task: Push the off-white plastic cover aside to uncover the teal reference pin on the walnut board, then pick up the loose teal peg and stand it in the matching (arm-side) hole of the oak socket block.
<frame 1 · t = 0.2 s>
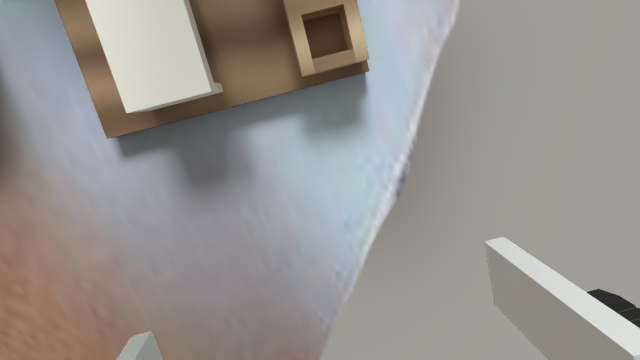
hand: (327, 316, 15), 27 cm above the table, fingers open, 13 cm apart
cover: (159, 43, 33), point 5 cm above the table, slide at 0.0 cm
board: (222, 38, 38), on the table
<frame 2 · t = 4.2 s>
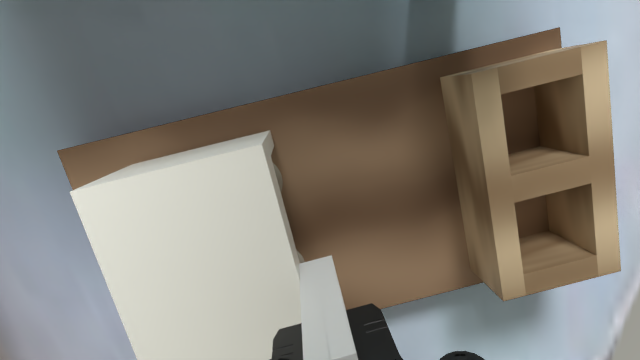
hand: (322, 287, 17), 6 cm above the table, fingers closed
cover: (220, 261, 18), point 5 cm above the table, slide at 1.6 cm, touching gripper
board: (336, 198, 23), on the table
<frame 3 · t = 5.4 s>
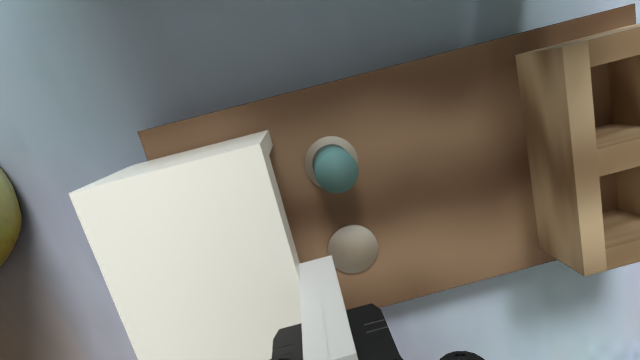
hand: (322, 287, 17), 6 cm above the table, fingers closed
cover: (220, 261, 18), point 5 cm above the table, slide at 5.7 cm, touching gripper
board: (402, 179, 23), on the table
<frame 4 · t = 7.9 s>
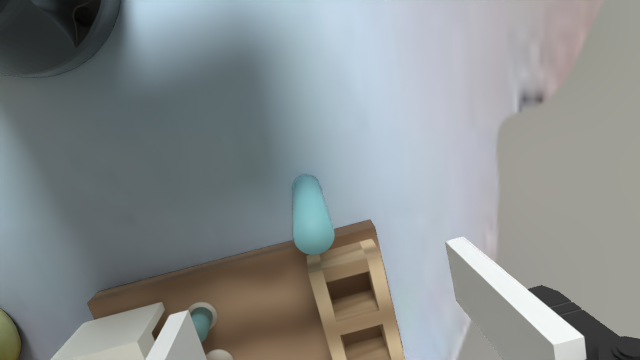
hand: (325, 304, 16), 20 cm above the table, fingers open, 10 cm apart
peg: (306, 187, 35), on the table
board: (254, 315, 37), on the table
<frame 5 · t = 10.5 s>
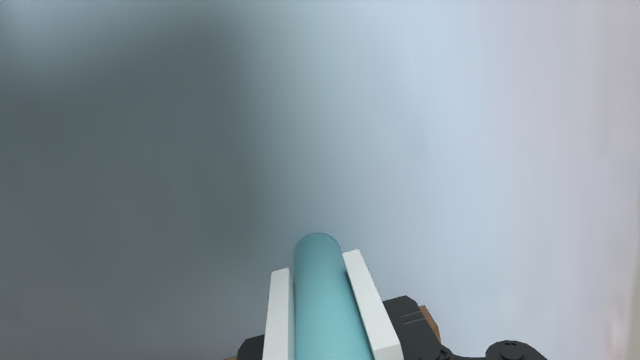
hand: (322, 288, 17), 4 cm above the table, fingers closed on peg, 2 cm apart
peg: (317, 255, 20), on the table, touching gripper
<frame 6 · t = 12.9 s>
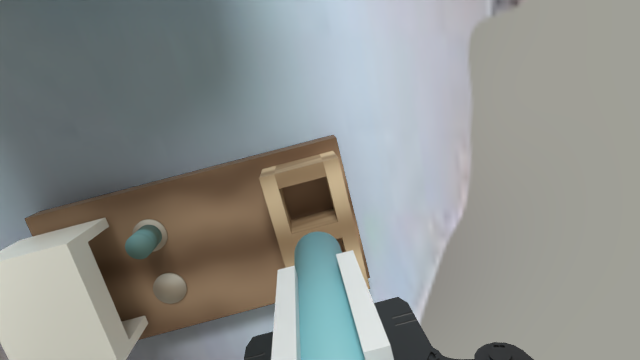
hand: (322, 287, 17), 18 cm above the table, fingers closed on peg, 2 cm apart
cover: (68, 300, 30), point 5 cm above the table, slide at 5.7 cm
peg: (317, 253, 21), point 14 cm above the table, touching gripper
board: (211, 241, 35), on the table
when the fingers open (7 cm above the table, at t = 15.4 s): peg drops 1 cm, resting on board.
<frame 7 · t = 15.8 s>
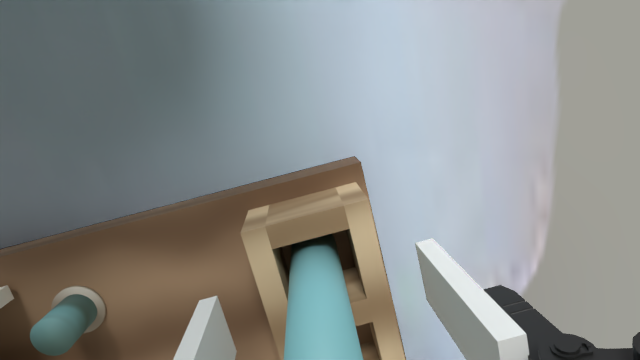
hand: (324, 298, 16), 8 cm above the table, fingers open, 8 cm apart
peg: (314, 246, 22), point 2 cm above the table, touching board
board: (175, 309, 24), on the table
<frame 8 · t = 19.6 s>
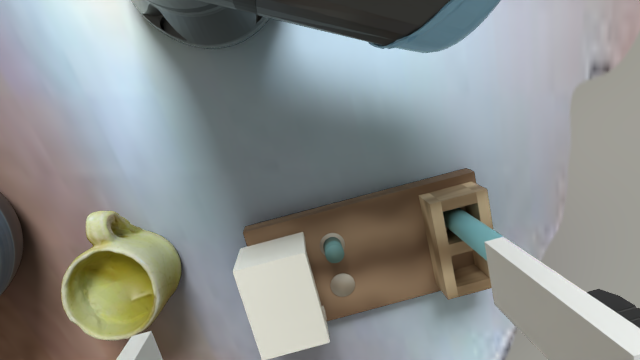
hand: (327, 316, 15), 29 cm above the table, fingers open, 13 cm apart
cover: (283, 293, 40), point 5 cm above the table, slide at 5.7 cm
peg: (448, 213, 43), point 2 cm above the table, touching board
mug: (140, 248, 44), on the table
board: (368, 248, 45), on the table
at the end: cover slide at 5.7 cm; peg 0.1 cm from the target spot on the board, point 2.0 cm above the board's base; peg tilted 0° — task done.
